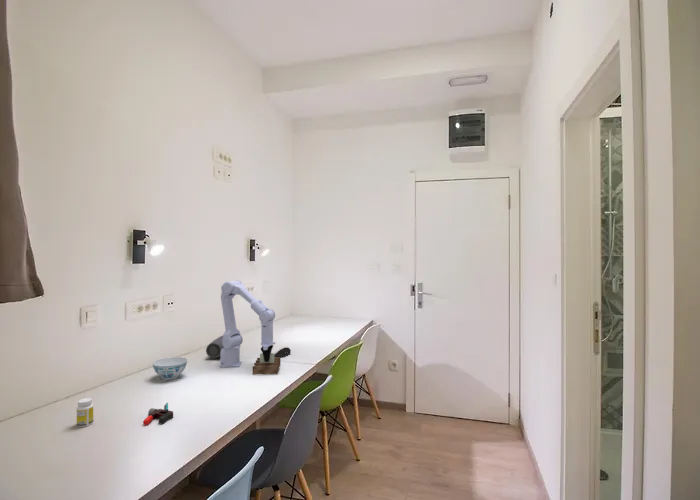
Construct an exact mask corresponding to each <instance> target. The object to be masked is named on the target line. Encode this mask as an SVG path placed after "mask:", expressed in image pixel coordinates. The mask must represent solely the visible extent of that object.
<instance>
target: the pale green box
mask: <svg viewBox="0 0 700 500" xmlns="http://www.w3.org/2000/svg"><path fill="white" fill-rule="evenodd" d="M274 354H275V352H271V353H270V359H269V362H265V361H264V356H263V353H262V352H261V353H259V358H260V363H274Z"/></svg>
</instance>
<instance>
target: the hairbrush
mask: <svg viewBox="0 0 700 500" xmlns="http://www.w3.org/2000/svg"><path fill="white" fill-rule="evenodd" d="M291 351H292V350H291V349H290V347H288V346H282V347H281V348H279V349H278V350H276V352H274V357H280V359H283V358H287V357H289V356H290V355H291ZM281 354H282V355H281ZM288 355H289V356H288ZM286 356H287V357H286Z"/></svg>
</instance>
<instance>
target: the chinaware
mask: <svg viewBox="0 0 700 500" xmlns="http://www.w3.org/2000/svg"><path fill="white" fill-rule="evenodd" d="M187 363H188V358H186V357H182V356H172V357H164V358H159V359H156V360H154V361H153V362H152V368H153V370H154V372H155V373H156V375H158V376H159V377H161V379H162V380H164V381H171V380H176V379H178V378H179V375H181V374H182V373H183V372H184V370H185V369H186V367H187Z"/></svg>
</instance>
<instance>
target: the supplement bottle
mask: <svg viewBox="0 0 700 500" xmlns="http://www.w3.org/2000/svg"><path fill="white" fill-rule="evenodd" d="M92 424H94V404H93V399H92V398H91V397H85V398H81V399H80V400H78V401H77V407H76V426H77V427H78V428H86V427H89V426H91V425H92Z"/></svg>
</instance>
